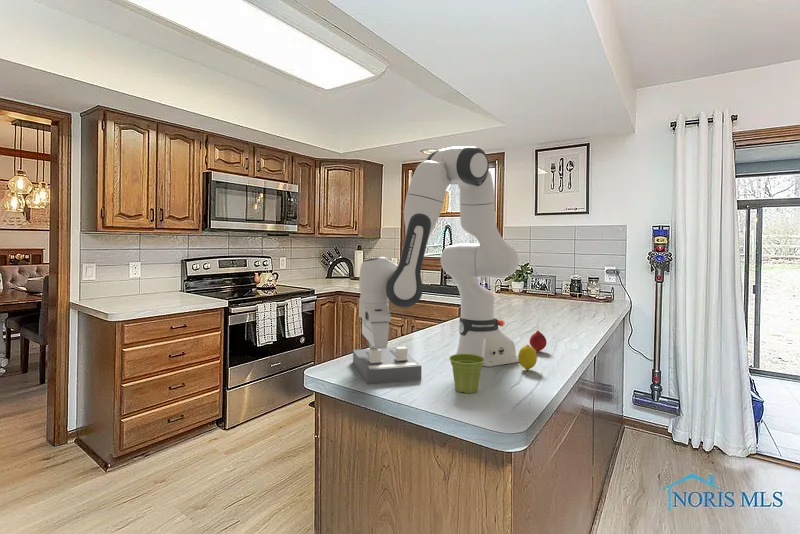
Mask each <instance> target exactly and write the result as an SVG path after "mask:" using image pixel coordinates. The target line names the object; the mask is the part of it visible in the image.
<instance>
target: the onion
mask: <svg viewBox="0 0 800 534" xmlns="http://www.w3.org/2000/svg"><path fill="white" fill-rule="evenodd" d="M529 346H531V347H532V348H534V350H535V351H536V353H538V352H541V351H542V350H543V349H545V347H546V346H547V339H546V337H545V335H544V334H543V333H542V332H540V330H539V329H536V332H534V333H532V335H531V336H530V338H529Z"/></svg>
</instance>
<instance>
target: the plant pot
mask: <svg viewBox="0 0 800 534" xmlns="http://www.w3.org/2000/svg"><path fill="white" fill-rule="evenodd" d="M448 359H449V361H450V363H451V367H452V374H453V375H452V376H453V382H454V389H455V391H457V392H458V393H465V394H474V393H476V392H477V391H478V390H479V385H480V378H481V374H482V373H481V372H482V367H483V366H482V365H483V362H484V361H485V359H484V358H483V357H481V356H478V355H474V354H452V355H450V356H449V358H448Z"/></svg>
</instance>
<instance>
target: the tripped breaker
mask: <svg viewBox="0 0 800 534" xmlns="http://www.w3.org/2000/svg"><path fill="white" fill-rule="evenodd" d="M369 349H370V348H369ZM369 362H370V363H381V362H383V361H382V350H381V349H370V359H369Z"/></svg>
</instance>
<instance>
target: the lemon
mask: <svg viewBox="0 0 800 534" xmlns="http://www.w3.org/2000/svg"><path fill="white" fill-rule="evenodd" d="M518 354H519V355H518V360H519V362H518V363H519V365H520V367H522V368H524V369H525V370H526V371H528V370H530V369H532V368H534V366H536V363H537V360H538V358H537V357H538V355H537V352H536V351H535V350H534V348H532V347H531V345H530V344H526V345H524V346H523V347H521V348H520V350H519V351H518Z"/></svg>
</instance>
